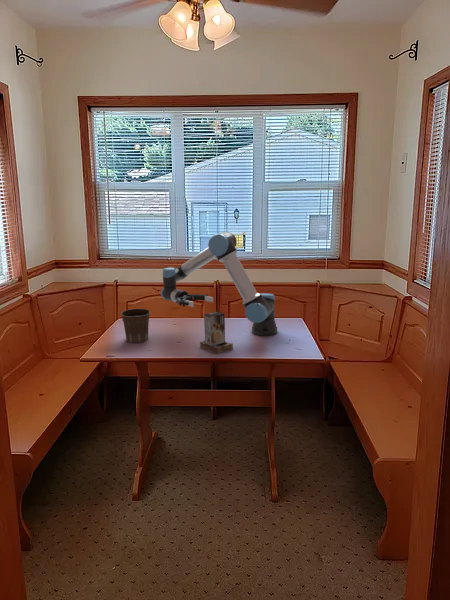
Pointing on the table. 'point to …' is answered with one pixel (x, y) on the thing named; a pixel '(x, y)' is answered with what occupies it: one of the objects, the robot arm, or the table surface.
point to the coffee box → (214, 328)
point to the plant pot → (136, 324)
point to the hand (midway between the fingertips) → (203, 302)
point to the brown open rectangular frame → (219, 349)
